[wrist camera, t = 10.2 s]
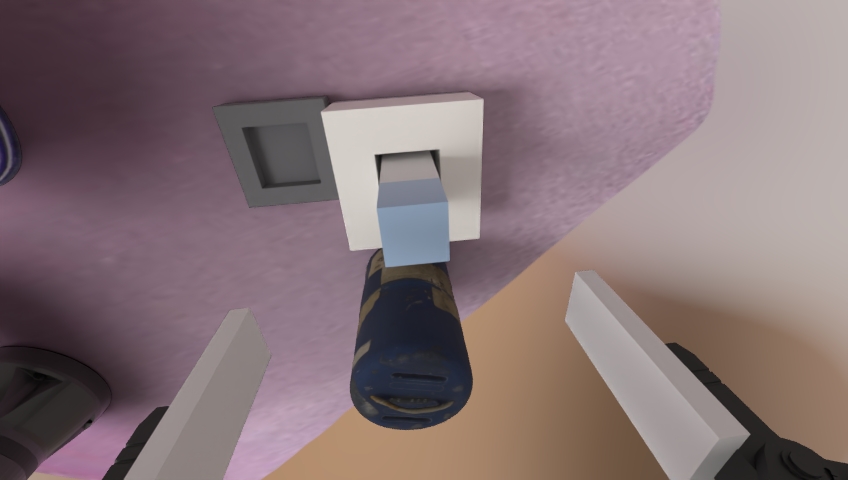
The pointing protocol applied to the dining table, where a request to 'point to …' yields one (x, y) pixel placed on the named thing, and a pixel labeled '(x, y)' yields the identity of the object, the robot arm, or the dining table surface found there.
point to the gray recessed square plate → (279, 150)
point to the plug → (412, 210)
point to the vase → (8, 150)
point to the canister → (409, 347)
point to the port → (404, 132)
